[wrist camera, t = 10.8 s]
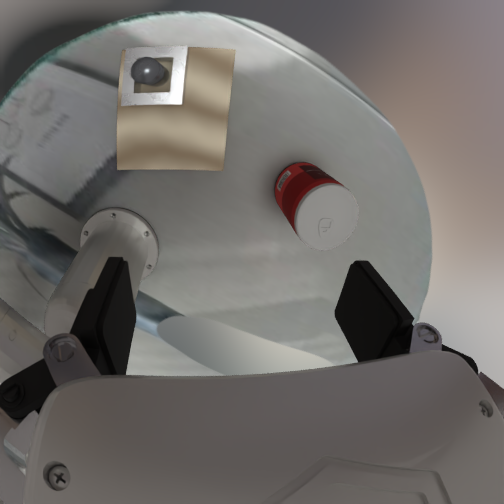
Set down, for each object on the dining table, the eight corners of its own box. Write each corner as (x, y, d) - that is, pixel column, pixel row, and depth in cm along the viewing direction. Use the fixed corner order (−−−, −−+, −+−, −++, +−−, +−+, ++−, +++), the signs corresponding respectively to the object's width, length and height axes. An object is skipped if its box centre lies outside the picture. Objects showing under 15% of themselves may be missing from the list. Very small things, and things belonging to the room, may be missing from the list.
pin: (168, 86, 29) (157, 82, 22) (146, 87, 29) (129, 84, 22) (170, 65, 28) (160, 55, 21) (147, 66, 27) (131, 57, 20)
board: (222, 168, 37) (223, 170, 36) (119, 167, 34) (117, 169, 33) (234, 51, 29) (235, 49, 28) (124, 51, 26) (122, 50, 25)
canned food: (277, 218, 42) (299, 258, 32) (269, 166, 38) (291, 192, 28) (326, 208, 42) (359, 243, 33) (321, 157, 38) (358, 179, 29)
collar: (184, 104, 31) (181, 104, 28) (128, 105, 29) (121, 106, 26) (189, 50, 27) (187, 45, 24) (133, 52, 26) (125, 48, 23)
